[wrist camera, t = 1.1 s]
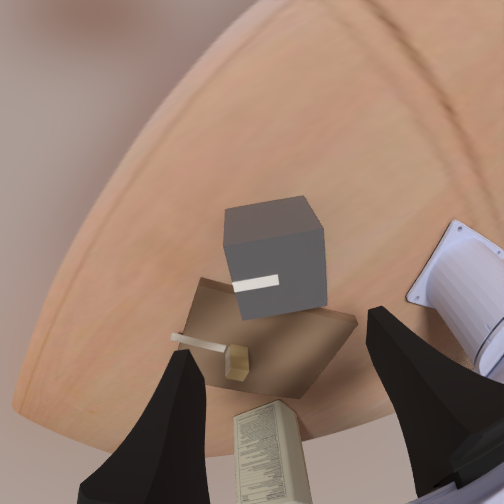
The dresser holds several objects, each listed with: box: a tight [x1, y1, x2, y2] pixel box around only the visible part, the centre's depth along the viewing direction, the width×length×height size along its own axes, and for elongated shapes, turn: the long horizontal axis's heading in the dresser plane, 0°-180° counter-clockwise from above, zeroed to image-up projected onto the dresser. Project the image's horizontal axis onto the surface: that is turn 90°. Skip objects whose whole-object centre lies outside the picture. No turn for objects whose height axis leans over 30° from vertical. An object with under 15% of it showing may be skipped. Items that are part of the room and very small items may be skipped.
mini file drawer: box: [223, 196, 327, 321], centre depth 18 cm, size 5×5×5 cm
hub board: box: [171, 277, 358, 399], centre depth 24 cm, size 14×11×4 cm
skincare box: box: [233, 400, 313, 504], centre depth 26 cm, size 6×4×12 cm
